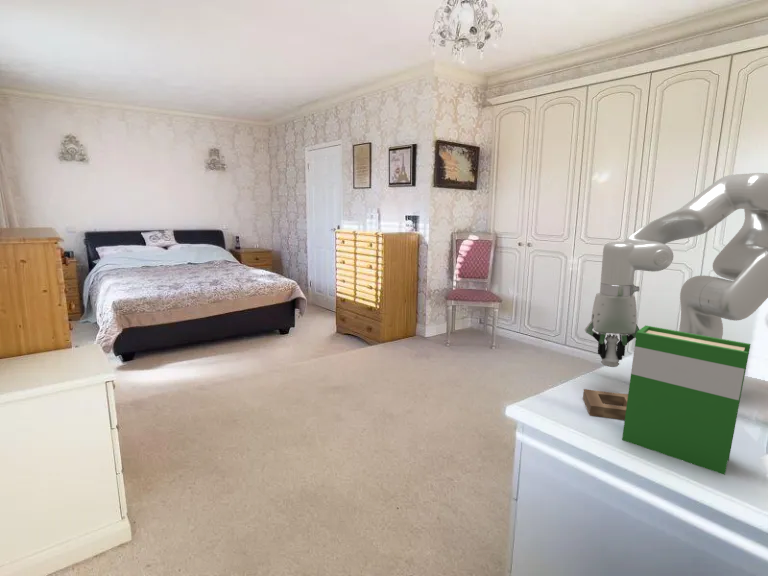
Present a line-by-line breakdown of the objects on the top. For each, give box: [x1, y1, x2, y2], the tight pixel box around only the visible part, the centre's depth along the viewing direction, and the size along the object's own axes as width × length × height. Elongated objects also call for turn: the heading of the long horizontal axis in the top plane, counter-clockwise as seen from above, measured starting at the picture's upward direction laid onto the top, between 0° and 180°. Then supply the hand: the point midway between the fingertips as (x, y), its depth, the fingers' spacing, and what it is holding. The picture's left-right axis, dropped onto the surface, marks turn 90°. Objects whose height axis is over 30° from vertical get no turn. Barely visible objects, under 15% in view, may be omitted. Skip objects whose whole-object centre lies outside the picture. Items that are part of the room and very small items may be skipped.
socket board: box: [582, 388, 628, 421], centre depth 108 cm, size 16×10×2 cm, turn 75°
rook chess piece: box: [600, 333, 620, 368], centre depth 117 cm, size 4×4×8 cm
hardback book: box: [621, 325, 751, 476], centre depth 89 cm, size 18×7×24 cm, turn 47°
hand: (610, 356), depth 117 cm, fingers closed on rook chess piece, 3 cm apart
